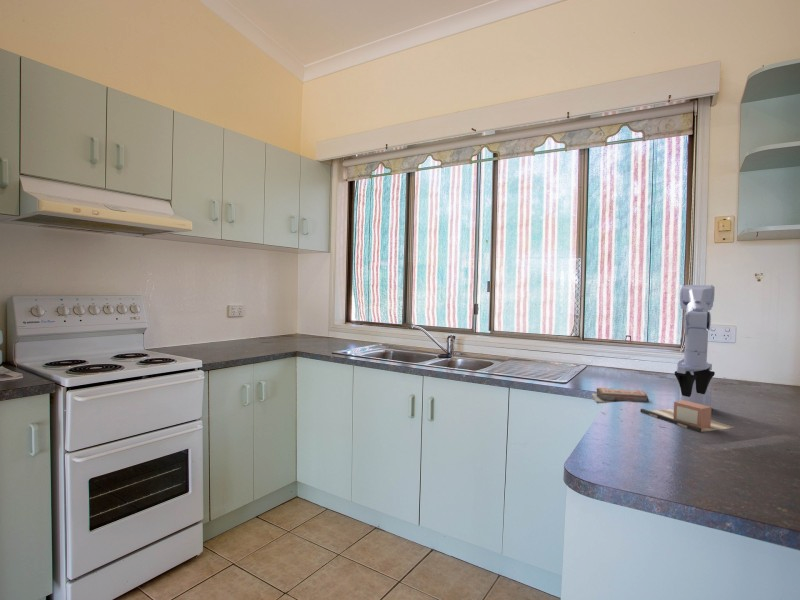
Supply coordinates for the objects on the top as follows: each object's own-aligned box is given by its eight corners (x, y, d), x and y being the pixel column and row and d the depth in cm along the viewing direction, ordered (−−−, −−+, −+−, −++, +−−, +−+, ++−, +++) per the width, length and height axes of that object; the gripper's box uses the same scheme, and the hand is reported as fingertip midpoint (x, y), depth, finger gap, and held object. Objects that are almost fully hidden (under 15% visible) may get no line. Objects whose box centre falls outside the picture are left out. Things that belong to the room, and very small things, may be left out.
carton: (683, 419, 138) (683, 400, 138) (710, 426, 131) (711, 407, 130) (672, 421, 135) (673, 401, 135) (700, 429, 128) (701, 408, 128)
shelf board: (673, 412, 149) (674, 405, 149) (734, 432, 131) (735, 424, 130) (639, 416, 145) (639, 408, 144) (697, 437, 126) (698, 428, 126)
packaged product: (643, 388, 165) (651, 395, 156) (642, 401, 165) (650, 408, 156) (592, 385, 170) (596, 391, 160) (591, 397, 170) (596, 404, 160)
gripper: (695, 347, 140) (693, 389, 140) (668, 350, 133) (665, 394, 134) (720, 350, 133) (717, 394, 134) (692, 353, 127) (689, 399, 127)
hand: (693, 394), depth 133 cm, fingers open, 7 cm apart
